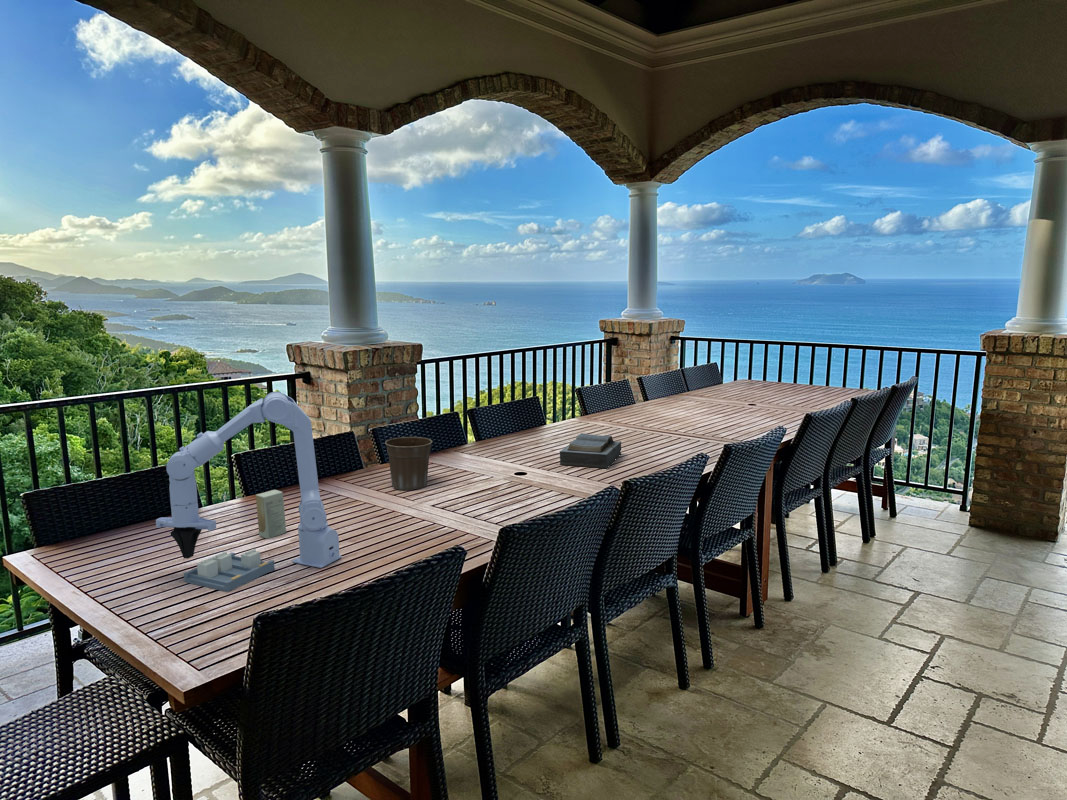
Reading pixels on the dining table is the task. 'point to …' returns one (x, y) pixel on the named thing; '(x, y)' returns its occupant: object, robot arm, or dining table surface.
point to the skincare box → (270, 513)
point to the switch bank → (230, 575)
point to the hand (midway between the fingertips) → (188, 556)
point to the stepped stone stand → (591, 451)
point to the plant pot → (409, 462)
